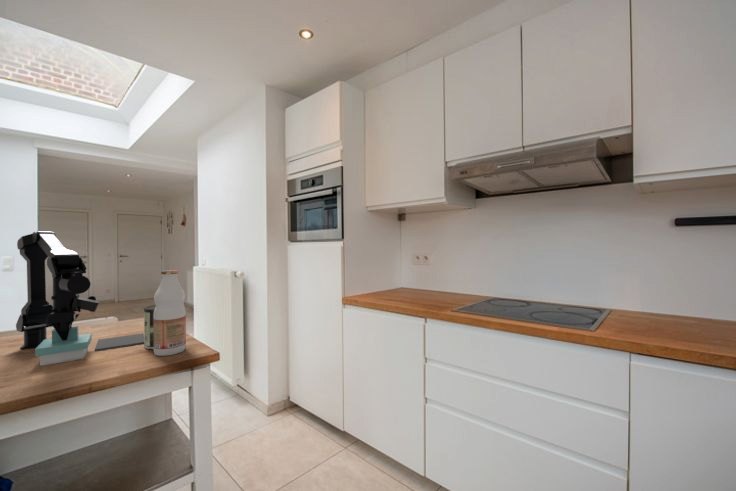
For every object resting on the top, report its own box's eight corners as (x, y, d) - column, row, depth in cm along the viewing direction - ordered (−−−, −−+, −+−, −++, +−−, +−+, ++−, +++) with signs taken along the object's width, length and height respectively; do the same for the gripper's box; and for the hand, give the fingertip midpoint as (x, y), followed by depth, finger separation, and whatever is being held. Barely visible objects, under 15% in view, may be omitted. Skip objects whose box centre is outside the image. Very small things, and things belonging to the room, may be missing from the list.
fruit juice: (147, 356, 104) (146, 271, 103) (164, 347, 113) (163, 269, 113) (176, 356, 104) (176, 271, 104) (191, 346, 113) (190, 269, 113)
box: (47, 356, 104) (47, 342, 104) (87, 350, 110) (87, 337, 110) (40, 365, 96) (40, 351, 96) (84, 358, 102) (84, 344, 102)
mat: (98, 341, 120) (98, 339, 120) (143, 334, 128) (143, 333, 128) (94, 351, 109) (94, 349, 109) (144, 343, 117) (144, 341, 117)
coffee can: (183, 341, 120) (183, 304, 120) (161, 350, 110) (160, 310, 110) (161, 339, 122) (160, 303, 122) (136, 348, 112) (136, 308, 112)
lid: (44, 346, 104) (44, 327, 104) (91, 339, 111) (91, 322, 111) (35, 356, 95) (35, 335, 95) (87, 348, 102) (87, 329, 102)
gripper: (94, 292, 100) (95, 341, 100) (100, 286, 115) (100, 328, 115) (45, 296, 94) (45, 348, 94) (57, 288, 109) (58, 334, 109)
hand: (65, 339), depth 103 cm, fingers closed on lid, 2 cm apart
